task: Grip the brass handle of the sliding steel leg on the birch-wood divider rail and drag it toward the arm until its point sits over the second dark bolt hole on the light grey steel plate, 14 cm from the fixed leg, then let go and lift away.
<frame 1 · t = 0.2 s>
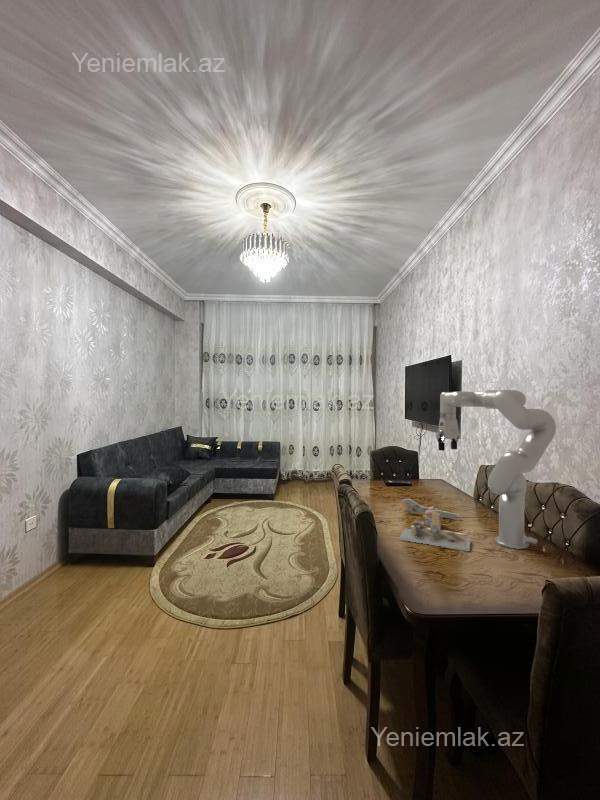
hand: (447, 449, 186), 37 cm above the table, tool pointing down, fingers open, 9 cm apart
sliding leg: (435, 524, 162), point 7 cm above the table, slide at 7.0 cm
bolt plate: (434, 540, 160), on the table
cupcake: (432, 526, 180), on the table
wrench: (430, 517, 195), on the table
divider frame: (437, 538, 163), resting on bolt plate
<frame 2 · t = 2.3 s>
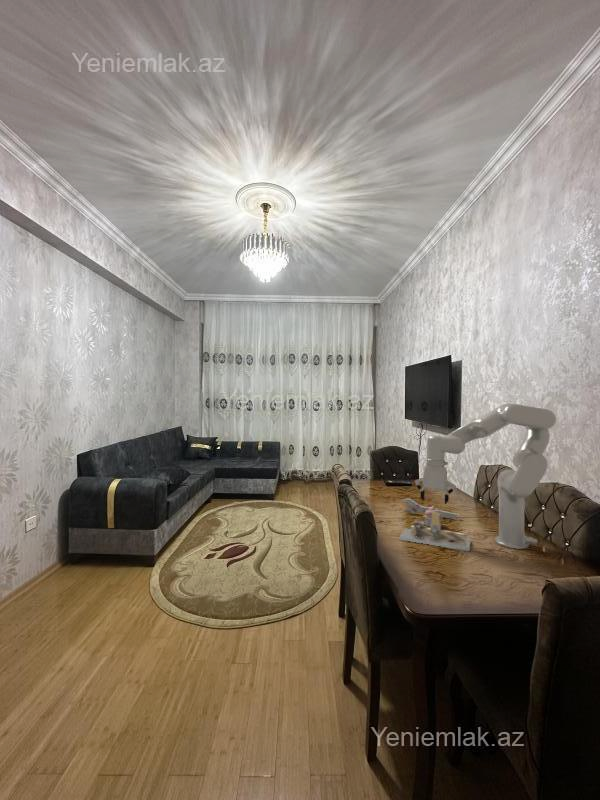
hand: (434, 501, 163), 16 cm above the table, tool pointing down, fingers open, 9 cm apart
nothing on the table moved.
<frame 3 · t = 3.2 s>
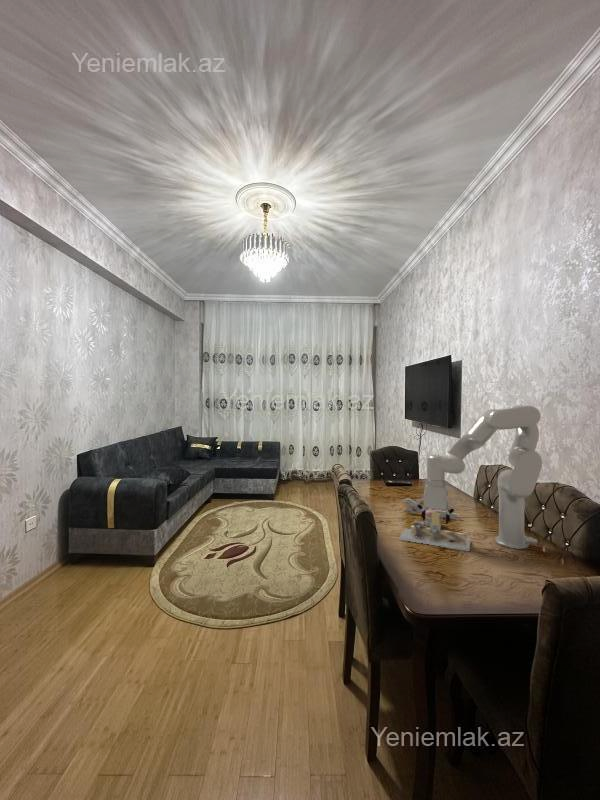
hand: (435, 521, 163), 8 cm above the table, tool pointing down, fingers open, 9 cm apart
nothing on the table moved.
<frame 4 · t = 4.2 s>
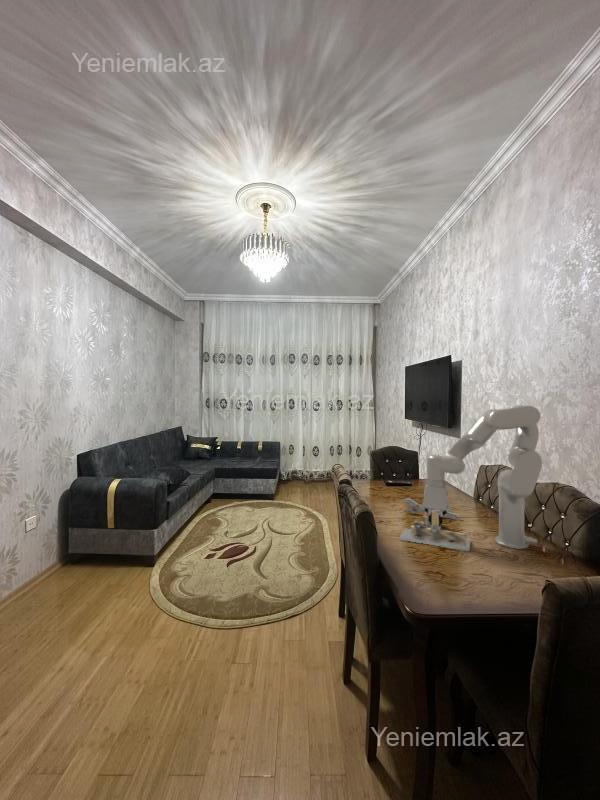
hand: (435, 524, 163), 7 cm above the table, tool pointing down, fingers closed on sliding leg, 3 cm apart
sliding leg: (435, 524, 162), point 7 cm above the table, slide at 7.0 cm, touching gripper
everything else where it was.
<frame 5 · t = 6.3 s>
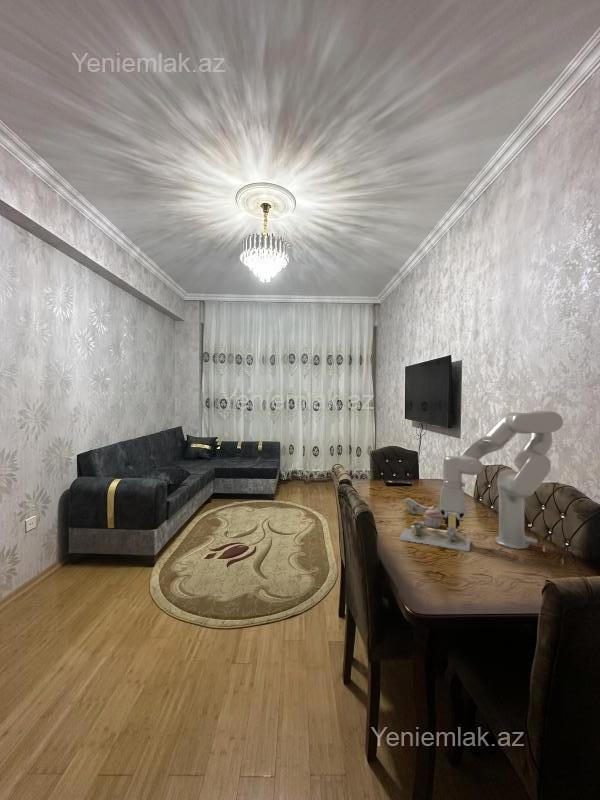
hand: (452, 526, 160), 7 cm above the table, tool pointing down, fingers closed on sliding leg, 3 cm apart
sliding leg: (451, 527, 159), point 7 cm above the table, slide at 0.1 cm, touching gripper
everything else where it was.
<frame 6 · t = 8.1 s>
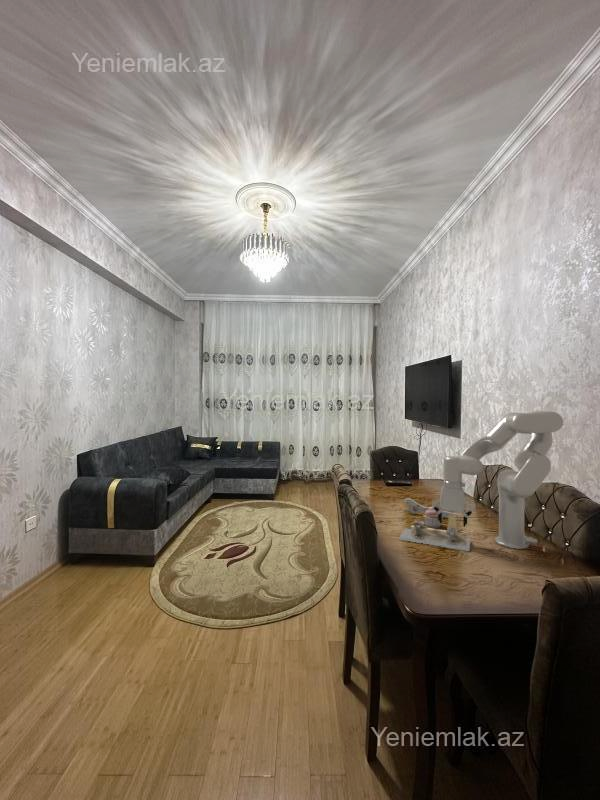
hand: (452, 524, 160), 8 cm above the table, tool pointing down, fingers open, 9 cm apart
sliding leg: (452, 527, 159), point 7 cm above the table, slide at 0.0 cm
everything else where it was.
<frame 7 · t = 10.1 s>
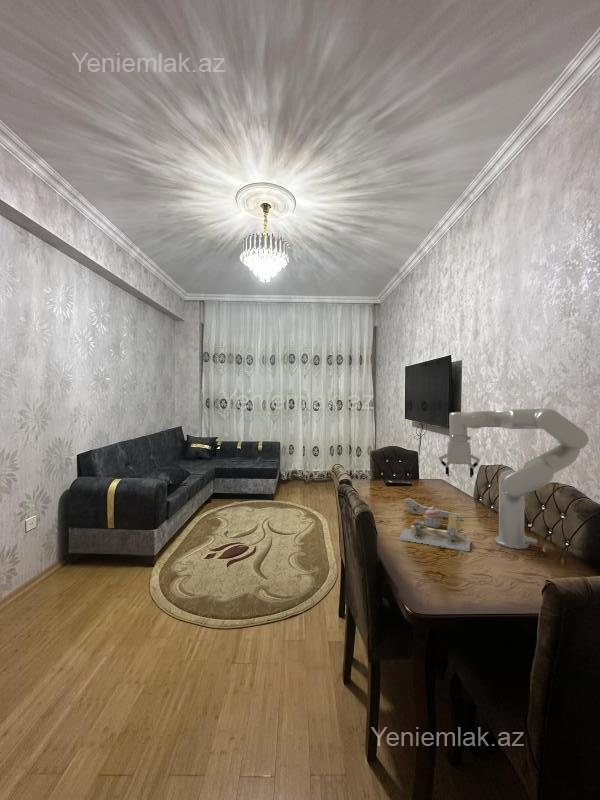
hand: (459, 476, 167), 27 cm above the table, tool pointing down, fingers open, 9 cm apart
nothing on the table moved.
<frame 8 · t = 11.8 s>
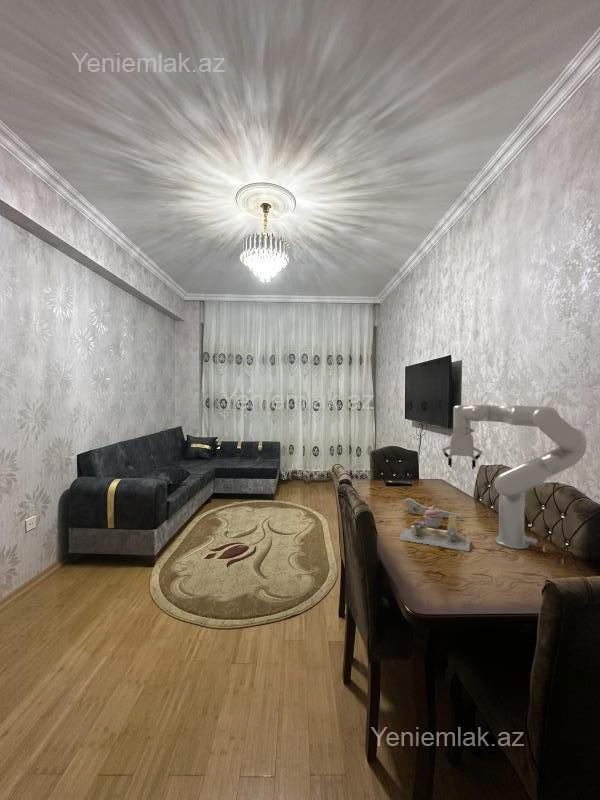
hand: (461, 467, 171), 30 cm above the table, tool pointing down, fingers open, 9 cm apart
nothing on the table moved.
at the end: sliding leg slide at 0.0 cm; the gripper is holding nothing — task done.
